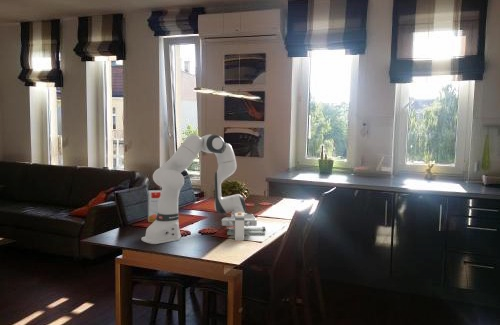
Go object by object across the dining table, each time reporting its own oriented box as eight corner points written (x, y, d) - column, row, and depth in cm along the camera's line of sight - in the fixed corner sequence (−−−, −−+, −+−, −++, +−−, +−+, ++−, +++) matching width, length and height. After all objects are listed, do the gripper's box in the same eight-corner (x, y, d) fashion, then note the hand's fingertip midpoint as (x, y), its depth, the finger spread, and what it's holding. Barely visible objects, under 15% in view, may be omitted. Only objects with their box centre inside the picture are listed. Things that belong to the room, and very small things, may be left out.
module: (234, 236, 248) (235, 211, 247) (243, 236, 249) (243, 211, 247) (235, 240, 241) (235, 214, 240) (244, 240, 241) (244, 214, 240)
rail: (226, 231, 254) (226, 228, 254) (226, 229, 259) (226, 226, 259) (265, 231, 256) (265, 228, 256) (264, 229, 261) (264, 226, 261)
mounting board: (227, 234, 252) (227, 232, 252) (227, 230, 262) (227, 228, 262) (265, 234, 253) (265, 232, 253) (263, 230, 263) (263, 228, 263)
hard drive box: (148, 222, 278) (147, 192, 276) (147, 220, 286) (147, 190, 284) (172, 221, 283) (172, 191, 280) (171, 218, 290) (171, 189, 288)
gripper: (221, 214, 256) (221, 219, 242) (255, 214, 257) (257, 219, 243) (221, 224, 257) (221, 230, 243) (255, 224, 258) (257, 230, 244)
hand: (239, 225), depth 243 cm, fingers open, 7 cm apart
